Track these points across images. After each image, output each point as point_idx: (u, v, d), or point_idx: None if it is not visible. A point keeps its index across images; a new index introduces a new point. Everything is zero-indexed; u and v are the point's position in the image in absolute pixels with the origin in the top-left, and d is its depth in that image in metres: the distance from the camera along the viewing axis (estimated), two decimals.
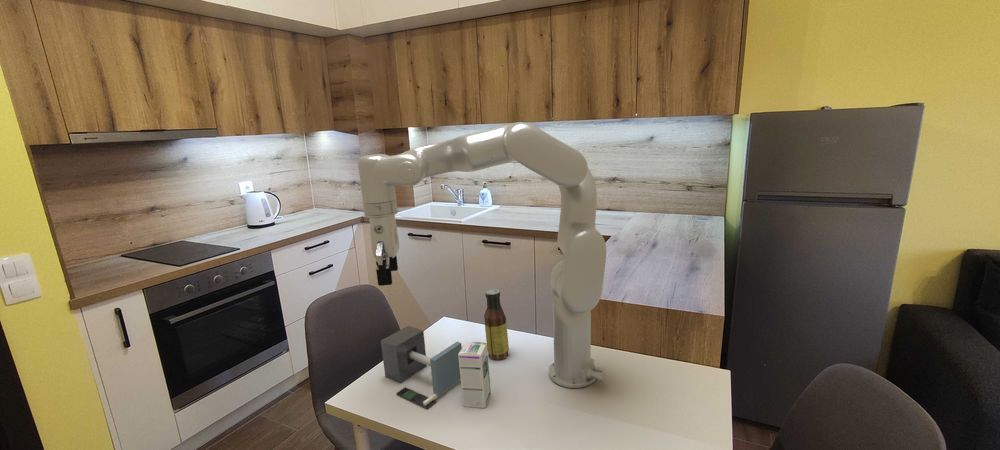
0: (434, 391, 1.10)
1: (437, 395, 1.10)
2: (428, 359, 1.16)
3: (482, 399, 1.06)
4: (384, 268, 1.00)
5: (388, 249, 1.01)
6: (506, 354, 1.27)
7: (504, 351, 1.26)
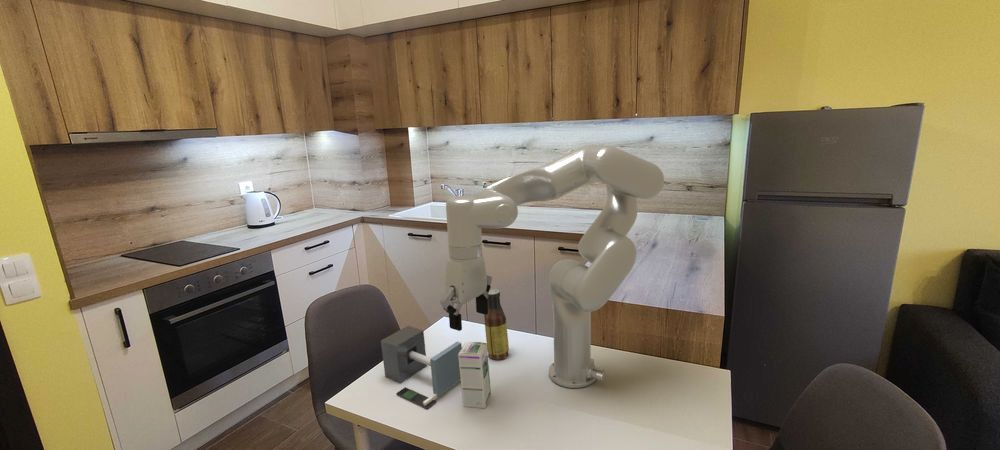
0: (434, 391, 1.10)
1: (437, 395, 1.10)
2: (428, 359, 1.16)
3: (482, 399, 1.06)
4: None
5: None
6: (506, 354, 1.27)
7: (504, 351, 1.26)
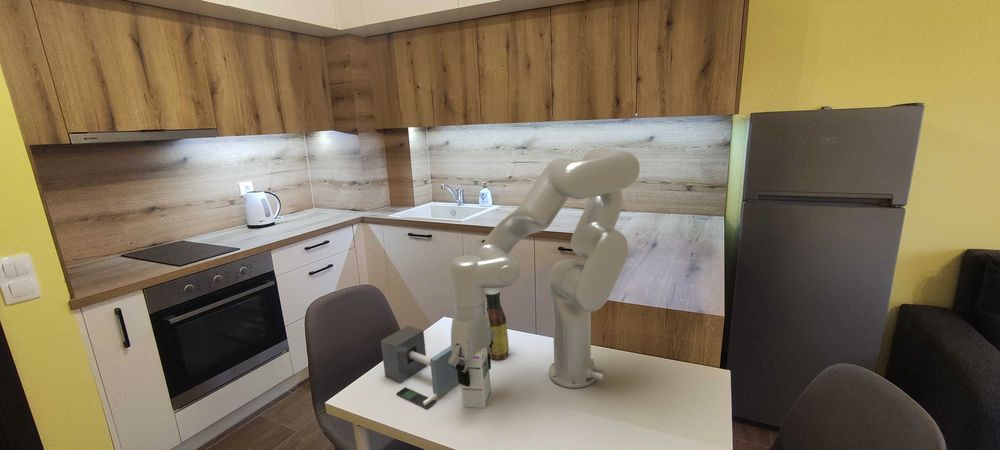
0: (434, 391, 1.10)
1: (437, 395, 1.10)
2: (428, 359, 1.16)
3: (482, 399, 1.06)
4: None
5: None
6: (506, 354, 1.27)
7: (504, 351, 1.26)
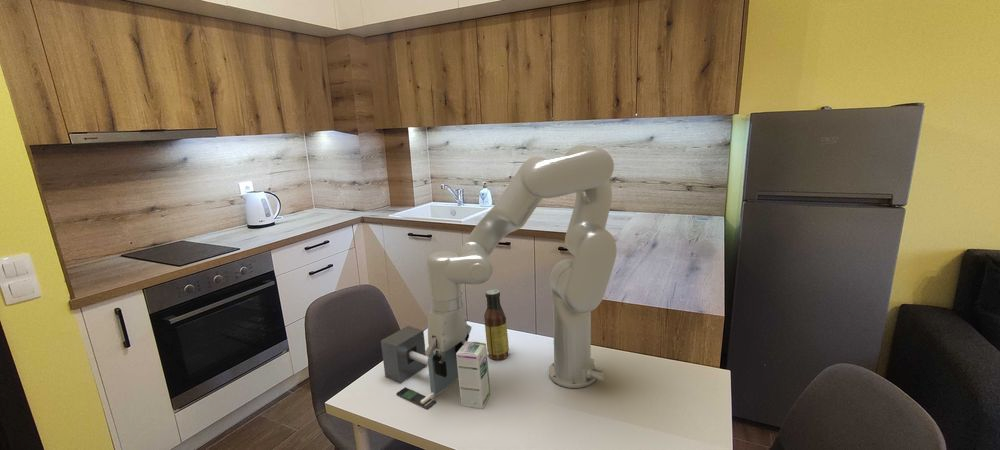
0: (432, 390, 1.11)
1: (435, 394, 1.10)
2: (426, 358, 1.16)
3: (479, 400, 1.05)
4: None
5: None
6: (506, 354, 1.27)
7: (504, 351, 1.26)
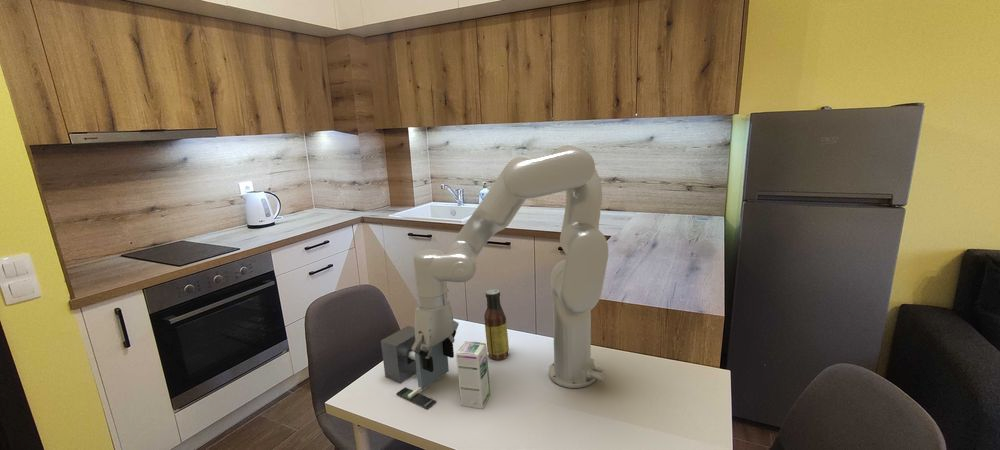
0: (419, 384, 1.13)
1: (422, 388, 1.13)
2: (414, 354, 1.19)
3: (479, 400, 1.05)
4: None
5: None
6: (506, 354, 1.27)
7: (504, 351, 1.26)
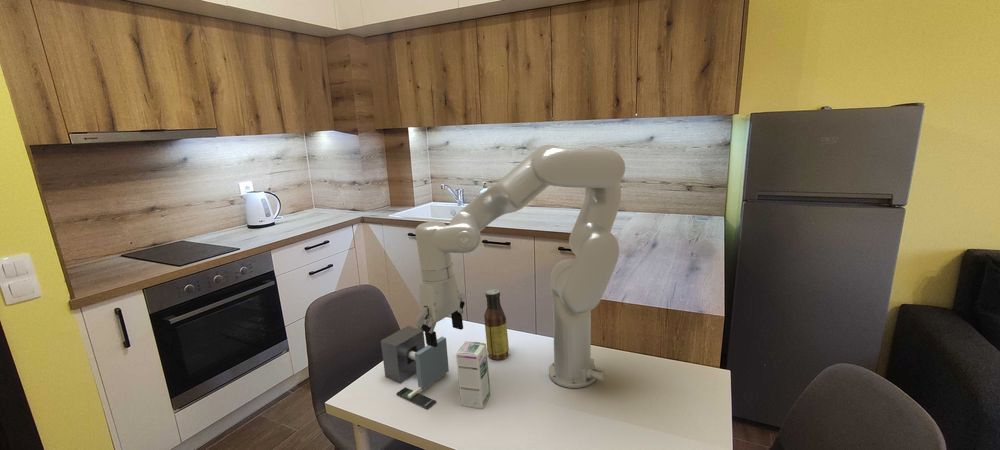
0: (419, 384, 1.13)
1: (422, 388, 1.13)
2: (414, 354, 1.19)
3: (479, 400, 1.05)
4: None
5: None
6: (506, 354, 1.27)
7: (504, 351, 1.26)
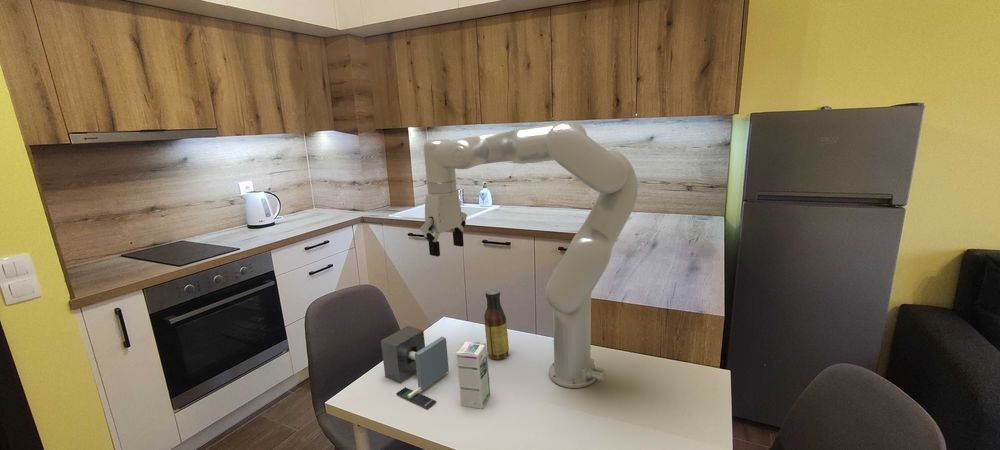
0: (419, 384, 1.13)
1: (422, 388, 1.13)
2: (414, 354, 1.19)
3: (479, 400, 1.05)
4: None
5: None
6: (506, 354, 1.27)
7: (504, 351, 1.26)
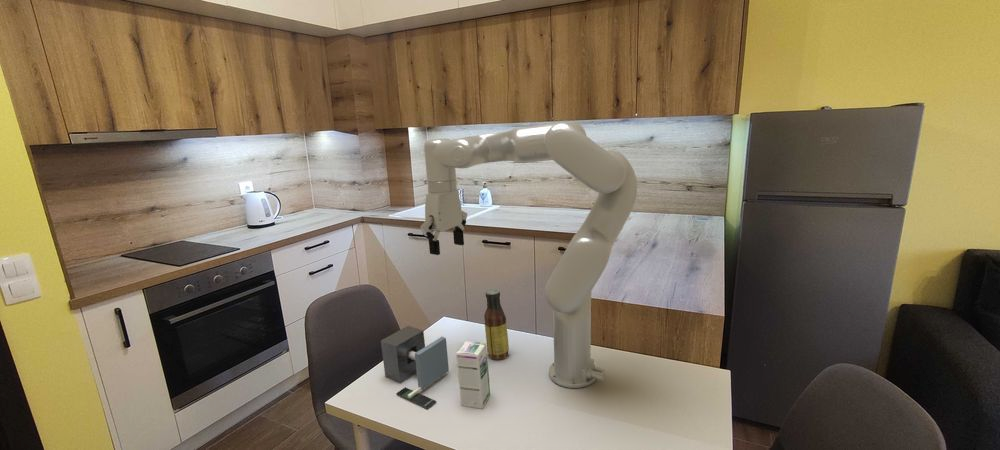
0: (419, 384, 1.13)
1: (422, 388, 1.13)
2: (414, 354, 1.19)
3: (479, 400, 1.05)
4: None
5: None
6: (506, 354, 1.27)
7: (504, 351, 1.26)
